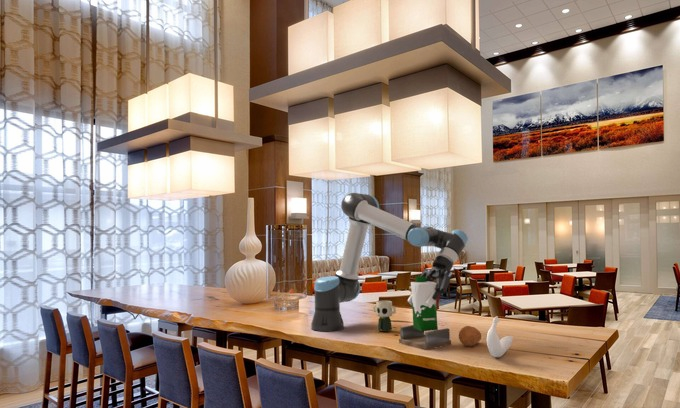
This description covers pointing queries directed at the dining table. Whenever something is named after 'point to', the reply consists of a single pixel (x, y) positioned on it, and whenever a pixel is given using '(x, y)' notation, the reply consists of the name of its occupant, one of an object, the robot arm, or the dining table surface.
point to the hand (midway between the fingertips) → (418, 304)
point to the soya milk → (423, 305)
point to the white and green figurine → (384, 314)
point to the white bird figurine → (497, 341)
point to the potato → (469, 336)
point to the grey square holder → (424, 338)
